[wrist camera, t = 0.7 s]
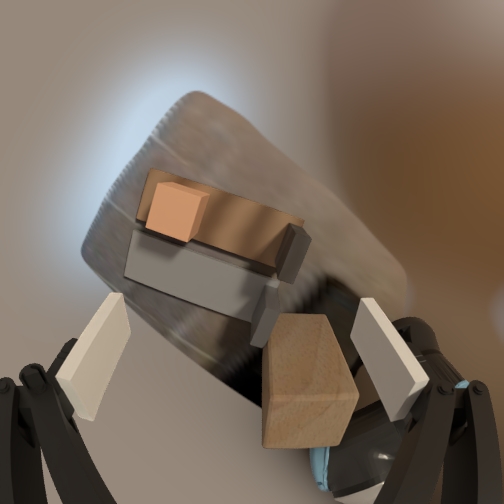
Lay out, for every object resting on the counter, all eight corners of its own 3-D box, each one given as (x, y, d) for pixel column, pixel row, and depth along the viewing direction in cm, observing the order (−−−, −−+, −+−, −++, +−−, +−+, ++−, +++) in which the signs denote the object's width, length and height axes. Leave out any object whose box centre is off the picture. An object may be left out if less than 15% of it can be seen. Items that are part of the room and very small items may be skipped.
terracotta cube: (209, 194, 39) (201, 197, 34) (197, 233, 41) (187, 242, 35) (171, 182, 39) (157, 182, 33) (160, 220, 41) (145, 227, 35)
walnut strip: (303, 219, 41) (315, 231, 32) (284, 268, 43) (289, 291, 34) (152, 168, 40) (126, 167, 31) (138, 217, 42) (111, 227, 33)
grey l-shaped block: (279, 280, 43) (283, 305, 35) (261, 322, 45) (261, 354, 37) (135, 229, 42) (108, 242, 33) (126, 273, 44) (100, 294, 35)
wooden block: (261, 360, 48) (261, 449, 28) (266, 311, 45) (268, 397, 26) (317, 361, 47) (339, 446, 28) (326, 313, 45) (361, 394, 25)
